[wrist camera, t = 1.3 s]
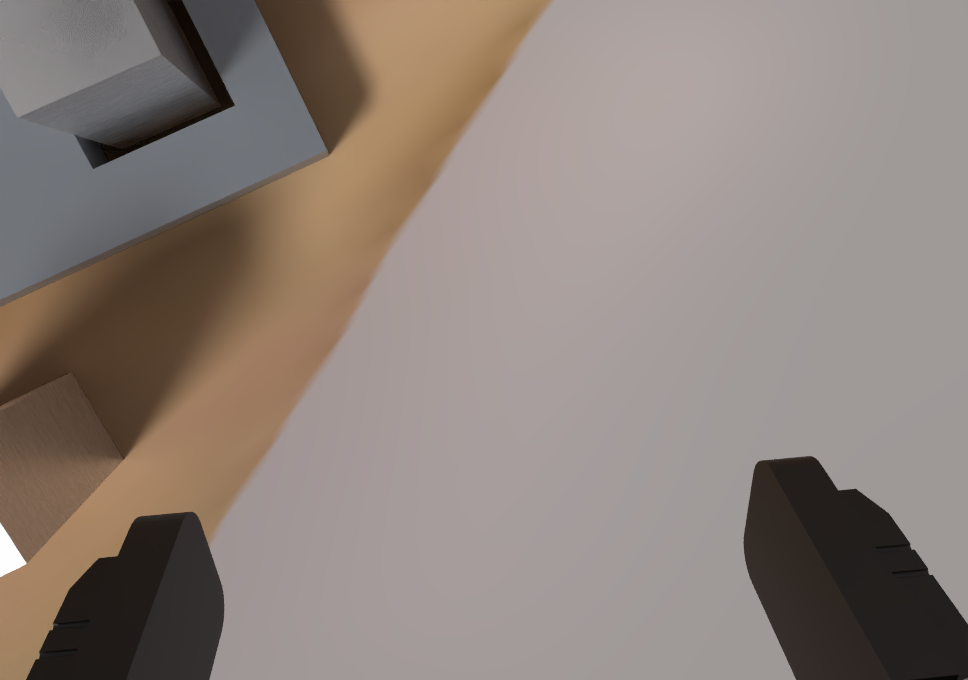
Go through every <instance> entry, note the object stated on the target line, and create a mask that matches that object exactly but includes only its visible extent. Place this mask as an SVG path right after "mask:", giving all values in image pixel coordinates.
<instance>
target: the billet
mask: <svg viewBox="0 0 968 680" xmlns="http://www.w3.org/2000/svg"><path fill="white" fill-rule="evenodd" d="M122 461H123V458H122V456H121V454H120V453H119V451H118V449H117V448H116V446H115V444H114V443H113V441H112V439H111V438H110V436H109V434H108V433H107V431H106V429H105V427H104V426H103V424H102V422H101V421H100V419H99V417H98V416H97V414H96V412H95V411H94V409H93V407H92V406H91V404H90V402H89V401H88V399H87V397H86V395H85V394H84V392H83V390H82V389H81V387H80V385H79V384H78V382H77V380H76V379H75V377H74V375H73V374H72V372H70V373H68V374H66V375H64V376H62V377H60V378H58V379H55V380H53V381H51V382H49V383H47V384H45V385H43V386H40V387H38V388H36V389H34V390H32V391H30V392H28V393H26V394H23V395H21V396H19V397H17V398H15V399H13V400H11V401H9V402H6V403H4V404H2V405H0V577H1V576H3V575H5V574H7V573H9V572H11V571H13V570H15V569H17V568H19V567H21V566H23V565H25V564H27V563H28V562H29V561H30V560H31V559H32V557H33V556H34V555H35V554H36V553H37V552H38V551H39V550H40V549H41V548H42V547H43V546H44V545H45V544H46V542H47V541H48V540H49V539H50V538H51V537H52V536H53V535H54V534H55V533H56V532H57V531H58V530H59V529H60V527H61V526H62V525H63V524H64V523H65V522H66V521H67V520H68V519H69V518H70V517H71V516H72V515H73V514H74V512H75V511H76V510H77V509H78V508H79V507H80V506H81V505H82V504H83V503H84V502H85V501H86V500H87V499H88V497H89V496H90V495H91V494H92V493H93V492H94V491H95V490H96V489H97V488H98V487H99V486H100V485H101V484H102V482H103V481H104V480H105V479H106V478H107V477H108V476H109V475H110V474H111V473H112V472H113V471H114V470H115V469H116V467H117V466H118V465H119V464H120V463H121V462H122Z"/></svg>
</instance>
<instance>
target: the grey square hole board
mask: <svg viewBox="0 0 968 680" xmlns="http://www.w3.org/2000/svg"><path fill="white" fill-rule="evenodd" d="M182 1H183V3H184V5H185V7H186V9H187V11H188V13H189V15H190V17H191V19H192V21H193V23H194V25H195V27H196V29H197V31H198V33H199V35H200V37H201V39H202V41H203V43H204V45H205V47H206V49H207V51H208V53H209V55H210V57H211V59H212V61H213V63H214V65H215V67H216V69H217V71H218V73H219V75H220V76H221V78H222V80H223V82H224V84H225V86H226V88H227V90H228V92H229V94H230V96H231V98H232V100H233V102H234V104H235V106H233V107H231V108H229V109H226V110H224V111H222V112H220V113H217V114H215V115H213V116H211V117H208V118H206V119H204V120H202V121H200V122H197V123H195V124H193V125H191V126H188V127H186V128H184V129H182V130H179V131H177V132H175V133H173V134H170V135H168V136H166V137H164V138H162V139H159V140H157V141H155V142H153V143H150V144H148V145H146V146H144V147H141V148H139V149H137V150H135V151H133V152H130V153H128V154H126V155H124V156H121V157H119V158H117V159H115V160H112V161H110V162H109V161H108V159H107V157H106V155H105V154H104V152H103V150H102V148H101V146H100V144H99V143H98V142H96V141H93V140H90V139H86V138H83V137H80V136H76V135H73V134H70V133H66V132H63V131H60V130H56V129H53V128H50V127H46V126H43V125H40V124H36V123H33V122H30V121H26V120H23V119H20V118H17V116H16V115H15V113H14V111H13V109H12V108H11V106H10V104H9V102H8V101H7V99H6V97H5V95H4V93H3V92H2V90H1V88H0V306H3V305H5V304H7V303H9V302H11V301H13V300H16V299H18V298H20V297H22V296H24V295H27V294H29V293H31V292H33V291H35V290H37V289H40V288H42V287H44V286H46V285H48V284H51V283H53V282H55V281H57V280H59V279H61V278H64V277H66V276H68V275H70V274H72V273H75V272H77V271H79V270H81V269H83V268H85V267H88V266H90V265H92V264H94V263H96V262H98V261H101V260H103V259H105V258H107V257H109V256H112V255H114V254H116V253H118V252H120V251H122V250H125V249H127V248H129V247H131V246H133V245H136V244H138V243H140V242H142V241H144V240H146V239H149V238H151V237H153V236H155V235H157V234H160V233H162V232H164V231H166V230H168V229H170V228H173V227H175V226H177V225H179V224H181V223H184V222H186V221H188V220H190V219H192V218H194V217H197V216H199V215H201V214H203V213H205V212H208V211H210V210H212V209H214V208H216V207H218V206H221V205H223V204H225V203H227V202H229V201H232V200H234V199H236V198H238V197H240V196H242V195H245V194H247V193H249V192H251V191H253V190H256V189H258V188H260V187H262V186H264V185H266V184H269V183H271V182H273V181H275V180H277V179H280V178H282V177H284V176H286V175H288V174H290V173H293V172H295V171H297V170H299V169H301V168H304V167H306V166H308V165H310V164H312V163H314V162H317V161H319V160H321V159H323V158H325V157H328V156H329V154H328V151H327V149H326V147H325V144H324V142H323V140H322V138H321V136H320V134H319V132H318V130H317V128H316V126H315V124H314V122H313V120H312V118H311V116H310V114H309V112H308V109H307V107H306V105H305V103H304V101H303V99H302V97H301V95H300V93H299V91H298V89H297V87H296V85H295V83H294V81H293V79H292V77H291V74H290V72H289V70H288V68H287V66H286V64H285V62H284V60H283V58H282V56H281V54H280V52H279V50H278V48H277V46H276V44H275V42H274V39H273V37H272V35H271V33H270V31H269V29H268V27H267V25H266V23H265V21H264V19H263V17H262V15H261V13H260V11H259V9H258V7H257V4H256V2H255V0H182Z"/></svg>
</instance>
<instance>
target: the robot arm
mask: <svg viewBox="0 0 968 680" xmlns="http://www.w3.org/2000/svg"><path fill="white" fill-rule="evenodd" d="M744 554H745V561H746V565H747V569H748V573H749V576H750V579H751V581H752V584H753V585H754V588H755V590H756V592H757V594H758V597H759V599H760V601H761V603H762V605H763V608H764V610H765V612H766V614H767V616H768V619H769V621H770V623H771V625H772V627H773V630H774V632H775V634H776V636H777V638H778V640H779V643H780V645H781V647H782V649H783V652H784V654H785V656H786V658H787V660H788V663H789V665H790V667H791V669H792V671H793V674H794V676H795V678H796V680H968V624H967V623H966V621H965V620H964V618H963V617H962V616H961V614H960V613H959V611H958V610H957V609H956V607H955V606H954V604H953V603H952V602H951V600H950V599H949V597H948V596H947V595H946V593H945V592H944V590H943V589H942V588H941V586H940V585H939V583H938V582H937V581H936V579H935V578H934V576H933V575H929V573H928V568H927V566H926V565H925V564H924V562H923V561H922V559H921V558H920V557H919V555H918V554H917V552H916V551H915V550H911V547H910V543H909V541H908V540H907V538H906V537H905V535H904V534H903V533H902V531H901V530H900V529H899V527H898V526H897V525H896V523H895V521H894V520H893V519H892V517H891V516H890V515H889V513H887V512H886V511H885V510H883V509H882V508H881V507H879V506H878V505H877V504H875V503H874V502H873V501H871V500H870V499H869V498H867V497H866V496H865V495H863V494H862V493H861V492H859V491H858V490H857V489H850V490H839V491H838V490H837V488H836V487H835V485H834V484H833V482H832V480H831V479H830V477H829V476H828V474H827V473H826V472H825V470H824V468H823V467H822V465H821V464H820V463H819V461H818V460H817V459H816V458H814V457H812V456H806V457H796V458H785V459H774V460H763V461H759V462H758V463H757V464H756V466H755V469H754V474H753V480H752V486H751V493H750V500H749V506H748V513H747V520H746V526H745V533H744ZM223 620H224V595H223V590H222V585H221V581H220V579H219V575H218V573H217V570H216V567H215V564H214V561H213V558H212V555H211V552H210V549H209V546H208V543H207V540H206V537H205V534H204V531H203V529H202V526H201V523H200V520H199V518H198V516H197V515H196V514H195V513H194V512H184V513H173V514H162V515H151V516H141V517H138V518H136V519H135V520H134V522H133V523H132V525H131V527H130V529H129V531H128V534H127V536H126V538H125V541H124V543H123V545H122V547H121V550H120V552H119V554H118V556H117V557H106V558H99V559H98V560H97V561H96V562H95V563H94V564H93V565H92V566H91V567H90V568H89V569H88V570H87V571H86V572H85V573H84V574H83V575H82V576H81V578H80V579H79V580H78V581H77V582H76V583H75V584H74V585H73V586H72V587H71V588H70V589H69V591H68V593H67V595H66V597H65V600H64V602H63V604H62V606H61V608H60V610H59V612H58V614H57V616H56V618H55V620H54V623H53V630H50V631H49V633H48V635H47V637H46V639H45V641H44V643H43V645H42V648H41V650H40V652H39V653H40V657H39V659H36V660H35V662H34V664H33V666H32V668H31V671H30V673H29V675H28V677H27V679H26V680H209V679H210V675H211V671H212V667H213V663H214V659H215V655H216V651H217V647H218V644H219V639H220V636H221V632H222V627H223Z"/></svg>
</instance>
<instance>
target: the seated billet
mask: <svg viewBox="0 0 968 680" xmlns="http://www.w3.org/2000/svg"><path fill="white" fill-rule="evenodd" d="M0 88H1V90H2V92H3V93H4V95H5V97H6V99H7V101H8V102H9V104H10V106H11V108H12V109H13V111H14V113H15V115H16V116H17V118H20V119H23V120H26V121H30V122H33V123H36V124H40V125H43V126H46V127H50V128H53V129H56V130H60V131H63V132H66V133H70V134H73V135H76V136H80V137H83V138H86V139H90V140H93V141H96V142H100V143H103V144H106V145H110V146H113V147H116V148H119V149H125V148H128V147H130V146H132V145H134V144H137V143H139V142H141V141H143V140H146V139H148V138H150V137H152V136H155V135H157V134H159V133H161V132H163V131H166V130H168V129H170V128H172V127H175V126H177V125H179V124H181V123H184V122H186V121H188V120H190V119H193V118H195V117H197V116H199V115H202V114H204V113H206V112H208V111H210V110H213V109H215V108H217V107H219V106H220V104H219V102H218V100H217V98H216V96H215V94H214V92H213V90H212V88H211V86H210V84H209V82H208V80H207V78H206V76H205V74H204V72H203V70H202V68H201V66H200V64H199V62H198V60H197V58H196V56H195V54H194V52H193V51H192V49H191V47H190V45H189V43H188V41H187V39H186V37H185V35H184V33H183V31H182V29H181V27H180V25H179V23H178V21H177V19H176V17H175V15H174V13H173V11H172V9H171V7H170V5H169V4H168V2H167V1H166V0H0Z"/></svg>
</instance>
